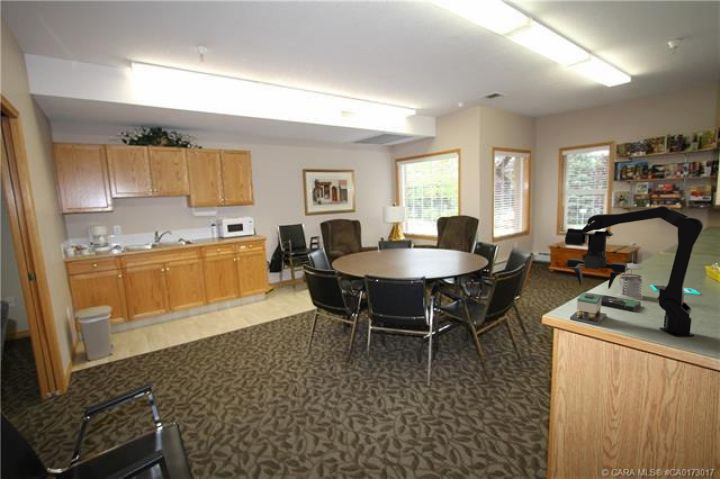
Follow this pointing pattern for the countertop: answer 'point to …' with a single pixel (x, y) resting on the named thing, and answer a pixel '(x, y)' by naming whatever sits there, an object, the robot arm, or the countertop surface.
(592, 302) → the board
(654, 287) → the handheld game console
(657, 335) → the countertop surface
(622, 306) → the disk drive
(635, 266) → the french press
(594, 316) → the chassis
